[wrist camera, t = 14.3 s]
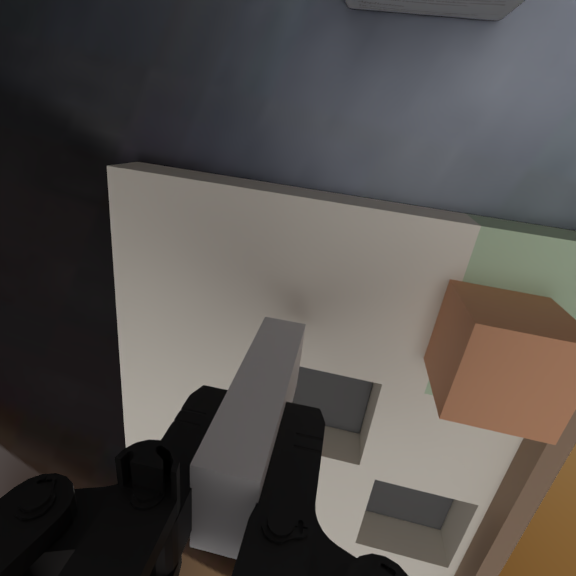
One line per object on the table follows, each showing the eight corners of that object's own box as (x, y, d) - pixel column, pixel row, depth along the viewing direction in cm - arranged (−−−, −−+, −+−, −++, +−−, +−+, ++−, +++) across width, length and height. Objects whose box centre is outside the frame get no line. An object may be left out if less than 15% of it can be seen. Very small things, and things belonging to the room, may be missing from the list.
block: (449, 279, 16) (475, 323, 12) (551, 297, 15) (609, 349, 12) (423, 358, 17) (439, 418, 14) (514, 377, 17) (555, 445, 13)
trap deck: (137, 161, 19) (83, 168, 15) (609, 236, 16) (679, 266, 13) (148, 471, 28) (116, 522, 24) (454, 552, 25) (469, 624, 21)
